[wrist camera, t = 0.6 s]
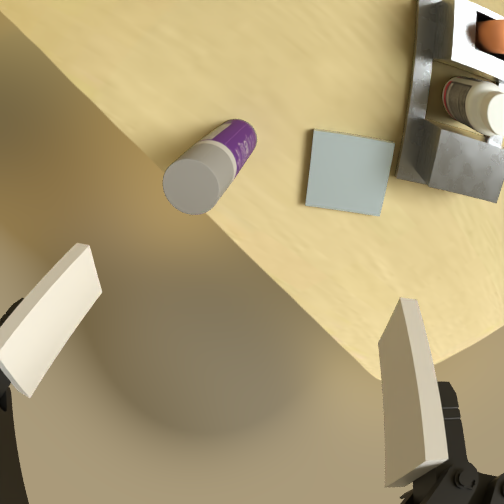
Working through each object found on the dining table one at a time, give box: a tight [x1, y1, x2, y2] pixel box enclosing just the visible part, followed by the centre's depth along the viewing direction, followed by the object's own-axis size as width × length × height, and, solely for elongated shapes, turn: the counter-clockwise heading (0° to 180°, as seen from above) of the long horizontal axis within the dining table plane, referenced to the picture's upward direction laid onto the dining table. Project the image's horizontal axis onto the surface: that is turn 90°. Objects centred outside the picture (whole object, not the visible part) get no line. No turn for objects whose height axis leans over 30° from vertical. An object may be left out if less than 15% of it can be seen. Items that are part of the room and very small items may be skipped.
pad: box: [305, 129, 395, 216], centre depth 34 cm, size 9×9×1 cm
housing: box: [395, 0, 504, 203], centre depth 24 cm, size 22×13×6 cm, turn 178°
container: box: [163, 119, 257, 215], centre depth 29 cm, size 5×5×15 cm
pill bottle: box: [442, 76, 504, 137], centre depth 23 cm, size 5×5×10 cm
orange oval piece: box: [475, 19, 504, 54], centre depth 17 cm, size 3×3×5 cm
